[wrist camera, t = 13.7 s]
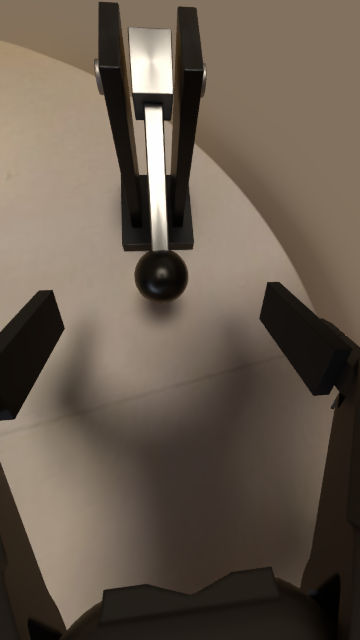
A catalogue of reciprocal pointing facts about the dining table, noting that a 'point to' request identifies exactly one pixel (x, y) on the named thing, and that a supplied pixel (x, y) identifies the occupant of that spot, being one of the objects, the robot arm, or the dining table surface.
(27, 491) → the dining table surface
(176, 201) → the bracket
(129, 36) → the lever
